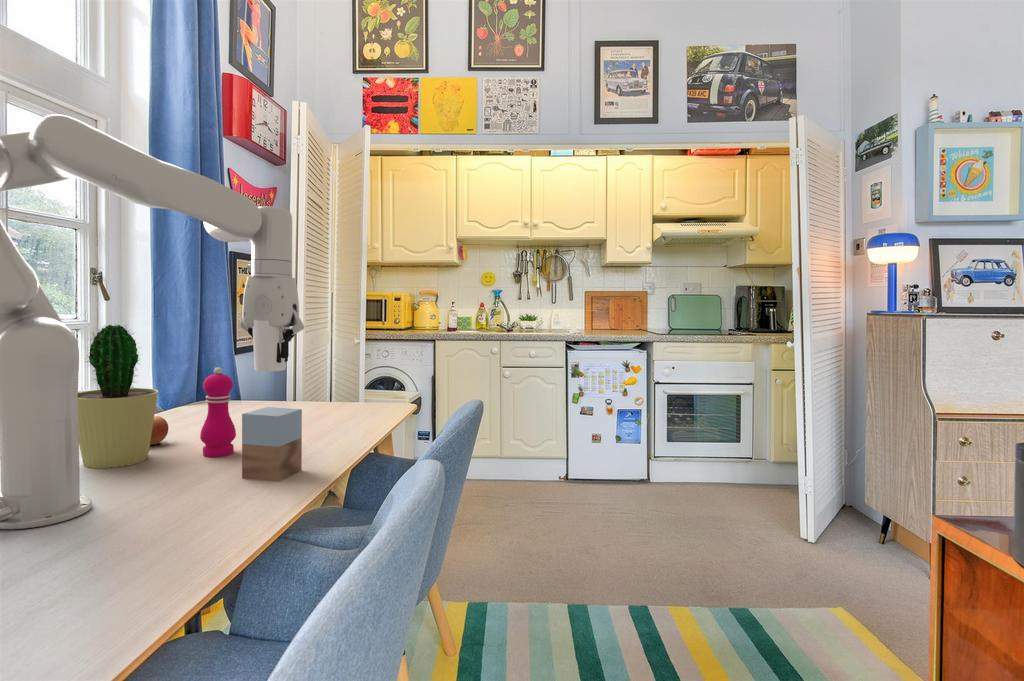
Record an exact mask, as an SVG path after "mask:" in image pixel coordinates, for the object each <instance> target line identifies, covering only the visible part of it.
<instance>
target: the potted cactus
mask: <svg viewBox="0 0 1024 681" xmlns="http://www.w3.org/2000/svg"><path fill="white" fill-rule="evenodd" d="M123 325H124V324H123ZM123 325H120V324H119V323H117V324H116V323H115V325H112V324H108V325H105V326H104V327H101V329H98V328H96V329H97V330H98V331H97V330H96V331H97V333H96V335H95V332H92V336H93V337H92V336H91V339H90V338H88V337H87V340H88V341H90V342H91V343H90V345H88V346H87V348H86V347H85V349H86V350H87V352H88V351H89V352H88V355H87V357H85V360H86V359H87V360H86V361H85V364H86V363H87V364H88V363H89V365H87V366H86V368H87V367H89V366H90V367H91V366H92V367H93V368H94V369H93V371H92V372H91V374H93V373H94V375H95V378H93V379H91V381H95V382H93V383H97V384H98V385H96V387H97V386H99V387H98V389H92V390H85V391H80V392H79V391H78V420H79V451H80V455H81V460H82V464H83V466H84V467H86V468H89V467H90V468H91V469H111V468H110V467H113V468H119V466H121V467H126V466H125V465H127V466H131V465H130V464H132V465H135V463H136V464H138V463H141V462H144V461H147V459H148V456H149V452H150V446H151V445H150V440H151V433H152V427H153V421H154V416H155V413H156V408H157V401H158V393H159V390H158V389H155V388H149V387H147V388H145V387H144V388H143V387H133V386H132V384H133V383H134V382H135V383H138V382H137V381H135V380H134V377H138V376H139V377H140V375H138V374H135V371H138V368H137V367H136V365H137V364H138V365H141V364H140V361H141V359H139V356H141V354H140V351H138V350H139V349H142V347H141V346H138V347H137V344H139V342H136V339H135V338H133V336H132V335H134V334H135V333H136V332H133V329H131V331H130V329H128V327H127V326H128V324H125V325H124V326H123ZM132 332H133V333H132ZM140 347H141V348H140ZM88 348H89V349H88Z"/></svg>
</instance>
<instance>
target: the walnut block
mask: <svg viewBox="0 0 1024 681" xmlns="http://www.w3.org/2000/svg"><path fill="white" fill-rule="evenodd" d="M302 438H303V437H302ZM302 438H299V439H297V440H294V441H292V442H289V443H287V444H284V445H282V446H279V447H275V446H263V445H250V444H242V443H241V479H245V480H252V481H253V480H255V481H264V480H265V482H274V481H275V483H276V482H278V483H279V482H281V481H284V480H285V479H287V478H290V477H291V476H293V475H295V474H297V473H299V472H301V471H302V467H303V466H302V465H303V464H302V458H303V457H302V456H303V455H302V454H303V453H302V452H303V451H302V450H303V448H302V445H303V443H302V441H303V440H302Z"/></svg>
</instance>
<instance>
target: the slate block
mask: <svg viewBox="0 0 1024 681" xmlns="http://www.w3.org/2000/svg"><path fill="white" fill-rule="evenodd" d="M302 414H303V409H302V408H301V409H300V408H289V407H274V406H266V407H263V408H258V409H255V410H251V411H247V412H244V413H241V445H242V444H250V445H263V446H275V447H279V446H282V445H284V444H287V443H289V442H292V441H294V440H297V439H299V438H303V437H302V436H303V435H302V434H303V432H302V430H303V429H302V426H303V425H302V424H303V421H302V420H303V419H302V418H303V415H302Z"/></svg>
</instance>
